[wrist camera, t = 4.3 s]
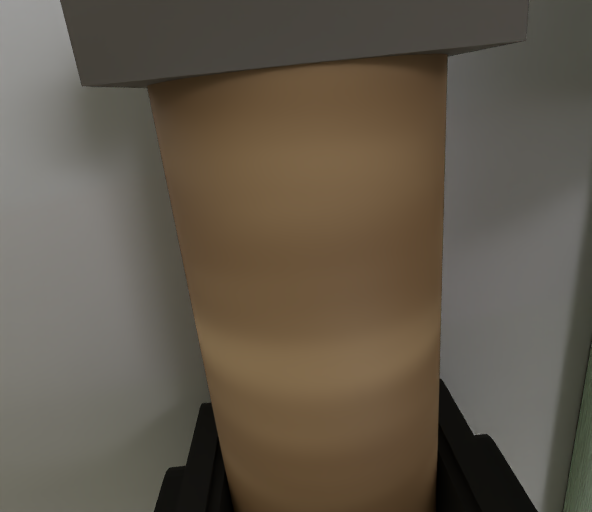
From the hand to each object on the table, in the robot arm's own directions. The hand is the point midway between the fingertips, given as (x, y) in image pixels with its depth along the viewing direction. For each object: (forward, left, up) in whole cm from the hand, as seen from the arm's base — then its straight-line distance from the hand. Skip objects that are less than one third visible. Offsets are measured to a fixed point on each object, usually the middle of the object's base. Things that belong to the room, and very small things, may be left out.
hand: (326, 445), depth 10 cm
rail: (0, 0, -1) cm, 1 cm away
